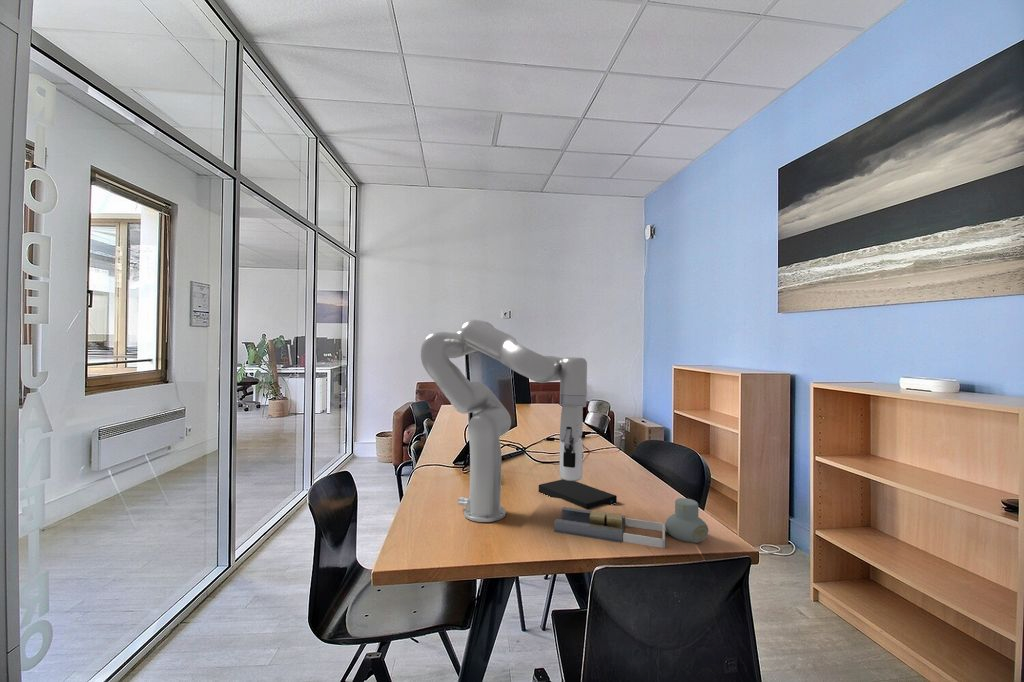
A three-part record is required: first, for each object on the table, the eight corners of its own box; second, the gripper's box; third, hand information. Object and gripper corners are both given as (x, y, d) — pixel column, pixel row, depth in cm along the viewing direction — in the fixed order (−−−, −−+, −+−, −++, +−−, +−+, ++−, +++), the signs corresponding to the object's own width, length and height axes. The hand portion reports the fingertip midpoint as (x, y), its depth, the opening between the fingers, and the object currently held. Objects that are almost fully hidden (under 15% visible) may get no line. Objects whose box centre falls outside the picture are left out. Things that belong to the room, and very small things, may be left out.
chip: (606, 533, 116) (606, 518, 116) (605, 527, 120) (606, 513, 120) (621, 534, 115) (622, 519, 115) (620, 528, 119) (620, 514, 119)
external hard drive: (567, 486, 160) (567, 478, 160) (616, 504, 142) (616, 495, 142) (538, 493, 152) (538, 484, 152) (587, 513, 133) (587, 504, 133)
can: (569, 473, 126) (569, 432, 127) (586, 478, 122) (587, 436, 122) (554, 477, 122) (555, 435, 122) (572, 483, 117) (572, 439, 117)
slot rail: (553, 535, 116) (553, 522, 116) (564, 517, 129) (564, 506, 129) (621, 546, 110) (621, 532, 110) (625, 527, 123) (625, 514, 123)
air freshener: (685, 529, 122) (685, 493, 122) (712, 540, 115) (712, 502, 115) (660, 537, 116) (660, 500, 117) (687, 549, 109) (687, 510, 110)
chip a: (589, 530, 118) (589, 515, 118) (591, 524, 121) (591, 510, 121) (604, 532, 116) (604, 517, 116) (606, 527, 120) (606, 512, 120)
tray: (623, 545, 111) (623, 533, 111) (626, 528, 122) (626, 517, 122) (664, 552, 108) (664, 540, 108) (664, 534, 118) (664, 523, 118)
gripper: (566, 396, 132) (565, 455, 131) (552, 403, 115) (551, 470, 115) (591, 398, 129) (589, 458, 129) (580, 405, 113) (579, 473, 112)
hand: (571, 463), depth 122 cm, fingers closed on can, 6 cm apart
